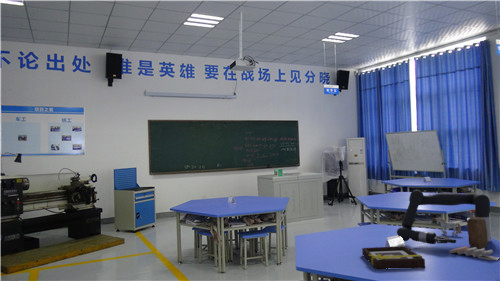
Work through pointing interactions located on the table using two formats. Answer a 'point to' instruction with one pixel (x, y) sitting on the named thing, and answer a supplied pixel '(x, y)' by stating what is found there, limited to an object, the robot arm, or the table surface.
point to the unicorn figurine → (448, 226)
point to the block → (477, 232)
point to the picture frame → (393, 257)
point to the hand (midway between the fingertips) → (455, 241)
